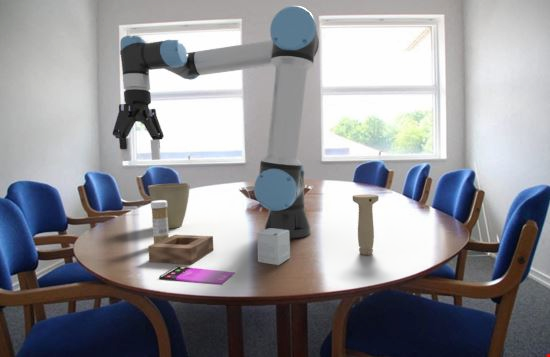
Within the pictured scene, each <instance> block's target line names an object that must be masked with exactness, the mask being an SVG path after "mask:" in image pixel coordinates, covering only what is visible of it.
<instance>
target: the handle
mask: <svg viewBox="0 0 550 357" xmlns="http://www.w3.org/2000/svg"><path fill="white" fill-rule="evenodd" d="M352 201H353V203H355V204H357V205H358V217H357V218H358V221H357V239H358V240H357V242H358V247H359V248H358V251H359V254H361V255H363V256H365V255H366V256H370V255H372V254H373V252H374V248H373V247H374V239H375V232H374V231H375V230H374V216H373V215H374V214H373V205H374V204H375V203H377V202H378V201H379V195H377V194H371V193H369V194H355V195H352Z"/></svg>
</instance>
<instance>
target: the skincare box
mask: <svg viewBox="0 0 550 357" xmlns="http://www.w3.org/2000/svg"><path fill="white" fill-rule="evenodd" d="M256 240H257V244H256V245H257V246H256V247H257V262H258V263H264V264H270V265H275V266H280V265H281V264H283V263H285V262H286V261H287V260H289V259H290V258H291V244H290V240H291V239H290V237H289V230H283V229H275V228H269V229H266V230H261V231H259V232H257V233H256Z"/></svg>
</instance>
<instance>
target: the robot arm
mask: <svg viewBox="0 0 550 357" xmlns="http://www.w3.org/2000/svg"><path fill="white" fill-rule="evenodd" d="M269 32H270V38H271V39H270V40H265V41H257V42H256V41H255V42H251V43H250V42H249V43H244V44H243V43H242V44H237V45H229V46H225V47H217V48H211V49H204V50H198V51H192V52H187V49H186V47H185V45H184V43H183V42H182V41H181V40H180V39H166V40H161V41H154V42H152V41H151V42H147V40H146V39H145V38H144V37H142V36H137V35H125V36H123V37H122V38H121V39H120V40H119V41H120V47H119V48H120V51H119V54H120V60H121V68H122V83H123V85H122V86H123V89H124V91H123V100H124V103H120V104H119V105H118V114H117V117H116V121H115V123H114V127H113V130H112V136H114V137H115V139H118V141H119V149H120V151H121V152H120V153H121V155H120V156H121V161H122V162H132V147H131V138H130V137H129V135H130V133H131V131H132V129H133V127H134V125H135V124H136V122H138V123H141V124H142V125H143V126H144V127H145V129H146V131H147V133H148V134H149V136H150V138H151V139H150V151H151V152H150V153H151V160H152V161H153V160H154V161H155V160H161V145H160V144H161V143H160V142H161V141H160V140H163V138H164V133H163V130H162V127H161V124H160V122H159V119H158V116H157V112H156V111H157V110H156V108H150V107H149V106H150V105H151V102H152V97H151V96H152V95H151V92H150V90H151V82H150V71H152V70H162V69H164V70H167V71H168V72H171V73H173V74H175V75H177V76H179V77H181V78H182V79H186V80H189V81H190V80H191V81H192V80H195V79H197V78H198V77H199V76H206V75H213V74H220V73H226V72H234V71H243V70H249V69H258V68H264V67H265V68H266V67H273V66H274V68H275V73H274V80H273V81H274V84H273V90H272V91H273V92H272V102H271V109H270V110H271V111H270V121H269V130H268V139H267V150H266V154H265V156H263V157H262V158H261V159H260V166H259V174H258V175H257V177H256V180H255V181H254V185H253V192H254V196H255V198H256V200H257V202H258V203H259V204H260V205H261V206H262V207H263V208H265V209H267V210H268V214H267V217H266V221H265V225H264V228H263V229H264V230H266V229H269V228H275V229H283V230H289V237H290V240H291V239H300V238H304V237H307V236H309V235H310V234H311V224H310V221H309V218H308V216H307V213H306V209H305V207H306V206H305V181H304V180H305V178H304V177H305V171H304V165H303V163H301V161H300V160H299V159H298V152H299V143H300V134H301V126H302V115H303V107H304V100H305V91H306V81H307V72H308V71H309V70H310V69H311V68H313V66H314V61H315V57H316V55H317V53H318V51H319V46H320V41H319V36H318V30H317V23H316V20H315V18H314V16H313V15H312V13H311V12H310V11H309V10H307V9H306V8H305V7H303V6H299V5H289V6H286V7H284V8H282V9H281V10H280V11H278V12H277V13H276V14H275V15H274V17H273V18H272V20H271V23H270V28H269ZM264 230H263V231H264Z"/></svg>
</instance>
